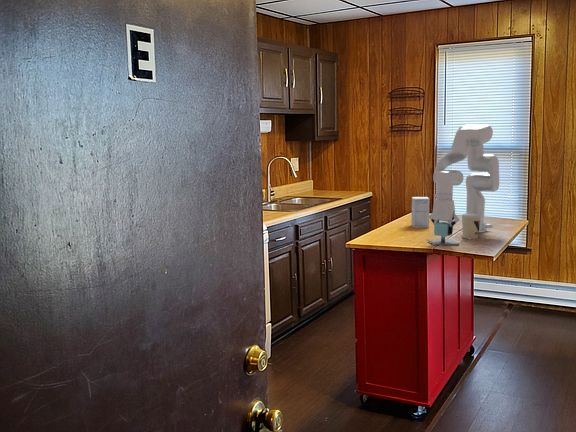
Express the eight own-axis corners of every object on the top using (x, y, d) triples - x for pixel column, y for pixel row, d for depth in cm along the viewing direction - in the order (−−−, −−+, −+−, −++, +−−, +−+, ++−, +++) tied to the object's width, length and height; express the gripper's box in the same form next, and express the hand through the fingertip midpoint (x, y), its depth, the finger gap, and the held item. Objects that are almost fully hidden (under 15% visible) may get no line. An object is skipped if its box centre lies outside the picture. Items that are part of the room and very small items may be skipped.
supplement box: (427, 225, 354) (428, 196, 352) (429, 227, 345) (430, 198, 343) (410, 225, 355) (411, 196, 353) (412, 227, 346) (413, 198, 344)
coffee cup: (477, 239, 306) (478, 216, 305) (458, 237, 311) (459, 214, 310) (482, 236, 314) (483, 214, 312) (464, 235, 319) (464, 212, 317)
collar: (440, 233, 299) (440, 221, 298) (452, 234, 295) (452, 222, 294) (434, 235, 294) (434, 222, 294) (446, 236, 290) (446, 224, 289)
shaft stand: (450, 241, 302) (451, 227, 301) (459, 245, 290) (459, 231, 289) (427, 241, 301) (427, 227, 300) (434, 245, 289) (435, 231, 288)
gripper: (424, 196, 295) (423, 232, 297) (457, 198, 284) (456, 236, 286) (431, 195, 301) (430, 230, 303) (464, 197, 290) (463, 234, 292)
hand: (443, 233), depth 295 cm, fingers closed on collar, 6 cm apart
